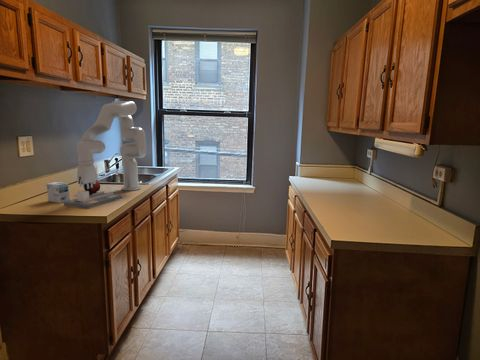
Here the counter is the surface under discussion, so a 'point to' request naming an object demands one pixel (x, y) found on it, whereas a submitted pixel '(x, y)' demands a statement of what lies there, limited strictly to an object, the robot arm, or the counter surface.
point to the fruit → (95, 187)
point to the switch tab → (82, 195)
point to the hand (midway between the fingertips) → (88, 195)
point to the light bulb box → (58, 192)
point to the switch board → (93, 200)
